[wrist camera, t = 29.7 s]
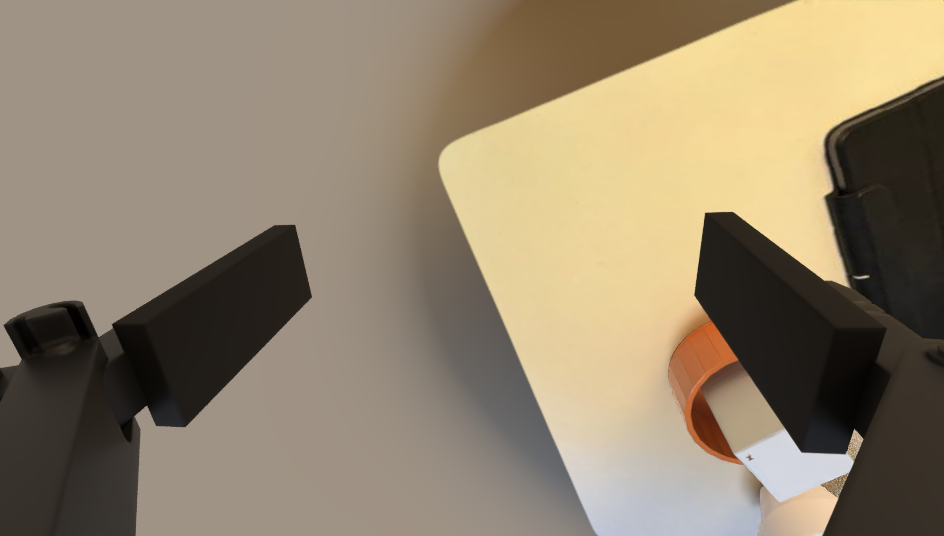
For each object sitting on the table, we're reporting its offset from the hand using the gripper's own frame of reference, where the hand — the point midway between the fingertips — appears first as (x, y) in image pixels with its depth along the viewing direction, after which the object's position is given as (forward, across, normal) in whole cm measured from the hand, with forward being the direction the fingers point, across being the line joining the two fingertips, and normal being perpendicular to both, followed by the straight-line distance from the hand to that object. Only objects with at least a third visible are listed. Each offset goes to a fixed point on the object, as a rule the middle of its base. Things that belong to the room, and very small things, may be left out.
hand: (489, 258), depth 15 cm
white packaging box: (+31, +23, -27) cm, 47 cm away
